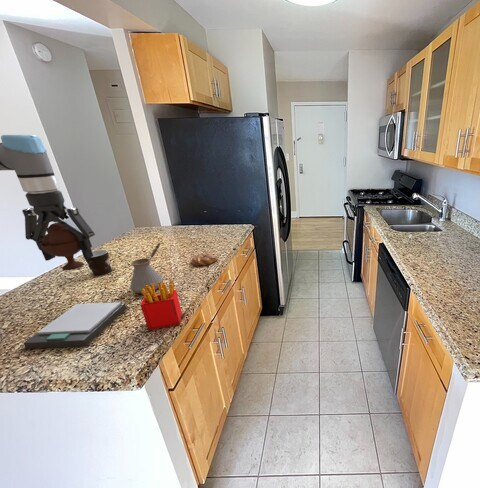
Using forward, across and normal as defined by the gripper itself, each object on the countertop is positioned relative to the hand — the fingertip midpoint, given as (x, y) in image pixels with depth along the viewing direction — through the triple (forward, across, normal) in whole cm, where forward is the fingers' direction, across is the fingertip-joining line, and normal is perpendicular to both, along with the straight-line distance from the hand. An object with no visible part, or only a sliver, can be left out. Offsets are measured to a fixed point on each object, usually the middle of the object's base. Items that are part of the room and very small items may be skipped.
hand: (70, 258), depth 85 cm
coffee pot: (+22, -11, -21) cm, 32 cm away
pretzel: (+22, -25, -41) cm, 53 cm away
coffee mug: (+22, +19, -31) cm, 43 cm away
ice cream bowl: (+3, 0, 0) cm, 3 cm away
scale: (+22, -2, +7) cm, 23 cm away
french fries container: (+22, -29, +7) cm, 37 cm away
